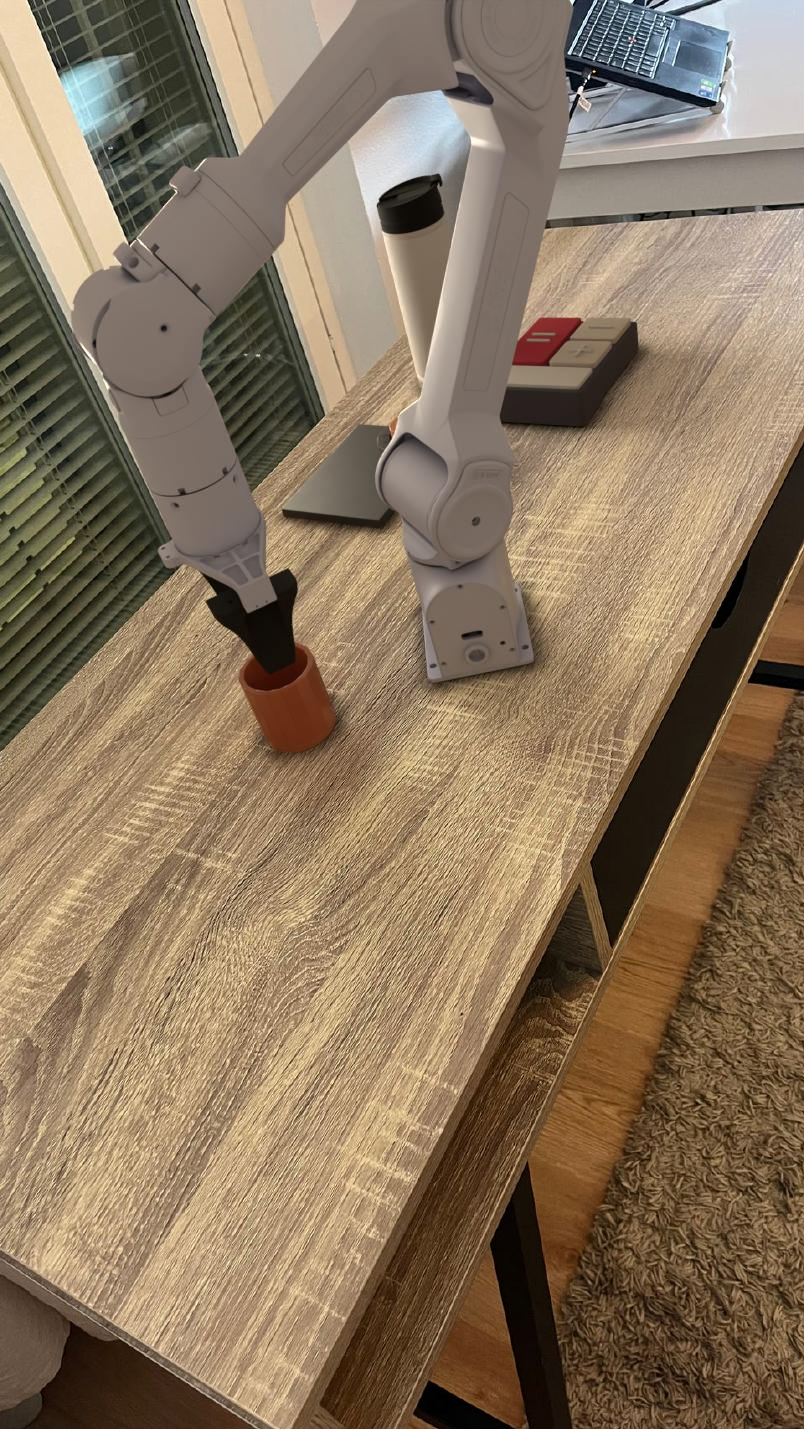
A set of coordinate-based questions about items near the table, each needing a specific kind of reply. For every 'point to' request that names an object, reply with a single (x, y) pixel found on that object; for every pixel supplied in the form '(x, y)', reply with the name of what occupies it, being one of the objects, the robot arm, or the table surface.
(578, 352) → the calculator
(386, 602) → the table surface
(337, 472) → the scale
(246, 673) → the cup
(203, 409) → the robot arm
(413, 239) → the travel mug
